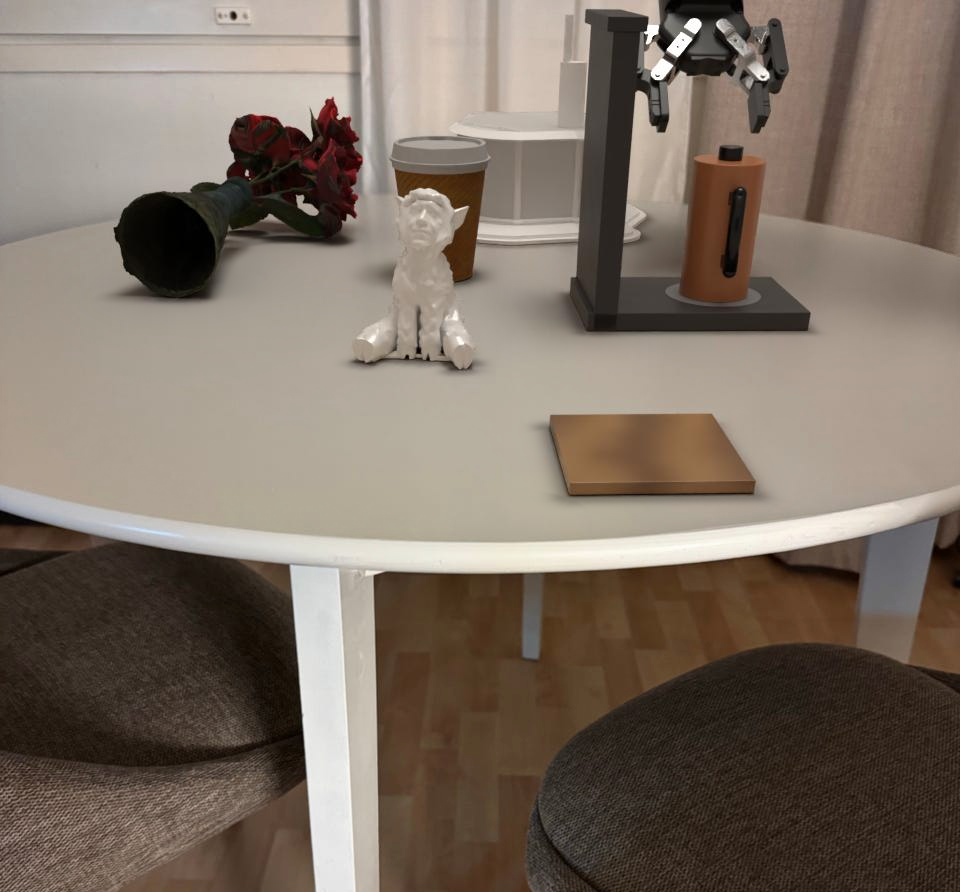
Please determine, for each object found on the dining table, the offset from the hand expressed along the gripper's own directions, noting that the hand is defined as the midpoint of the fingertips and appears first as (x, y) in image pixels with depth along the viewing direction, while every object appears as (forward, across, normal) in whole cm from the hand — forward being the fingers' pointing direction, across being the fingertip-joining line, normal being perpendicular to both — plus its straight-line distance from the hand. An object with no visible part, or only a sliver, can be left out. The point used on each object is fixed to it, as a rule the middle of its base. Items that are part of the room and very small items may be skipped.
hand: (710, 127), depth 94 cm
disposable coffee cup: (+6, -24, +14) cm, 28 cm away
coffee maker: (+15, -3, +4) cm, 16 cm away
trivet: (+39, -12, -19) cm, 45 cm away
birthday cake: (-12, -12, +32) cm, 36 cm away
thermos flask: (+14, 0, +3) cm, 15 cm away
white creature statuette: (+23, -26, -3) cm, 35 cm away
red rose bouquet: (+1, -43, +19) cm, 47 cm away
